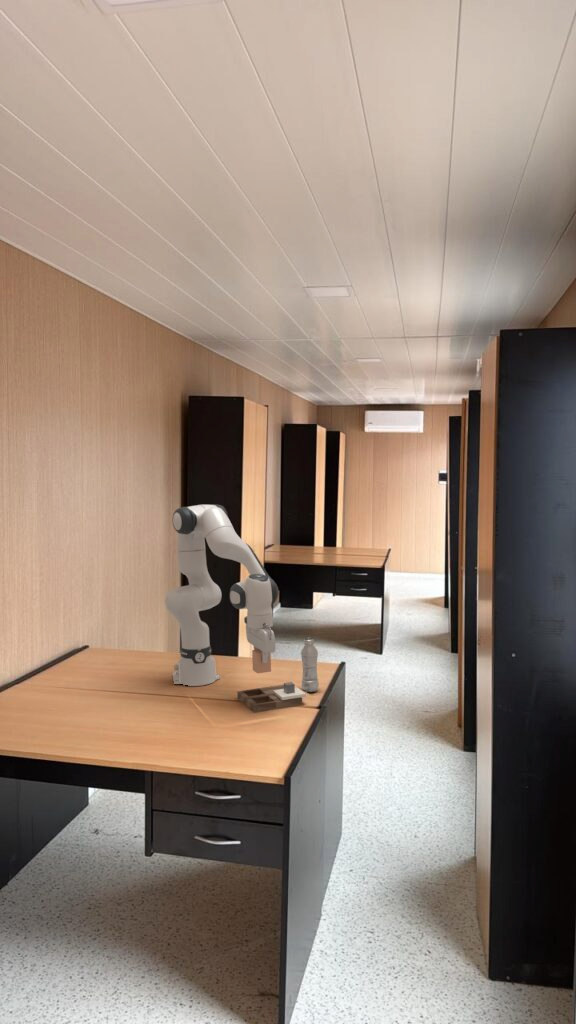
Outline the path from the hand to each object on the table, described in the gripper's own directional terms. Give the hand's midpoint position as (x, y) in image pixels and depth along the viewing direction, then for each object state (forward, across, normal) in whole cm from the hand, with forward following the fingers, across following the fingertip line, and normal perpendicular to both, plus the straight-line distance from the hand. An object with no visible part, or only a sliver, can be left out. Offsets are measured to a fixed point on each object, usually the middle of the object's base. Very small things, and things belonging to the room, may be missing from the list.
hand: (261, 660), depth 260 cm
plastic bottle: (+18, +12, -23) cm, 31 cm away
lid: (+14, 0, -10) cm, 17 cm away
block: (+4, 0, 0) cm, 4 cm away
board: (+17, +4, -4) cm, 18 cm away
